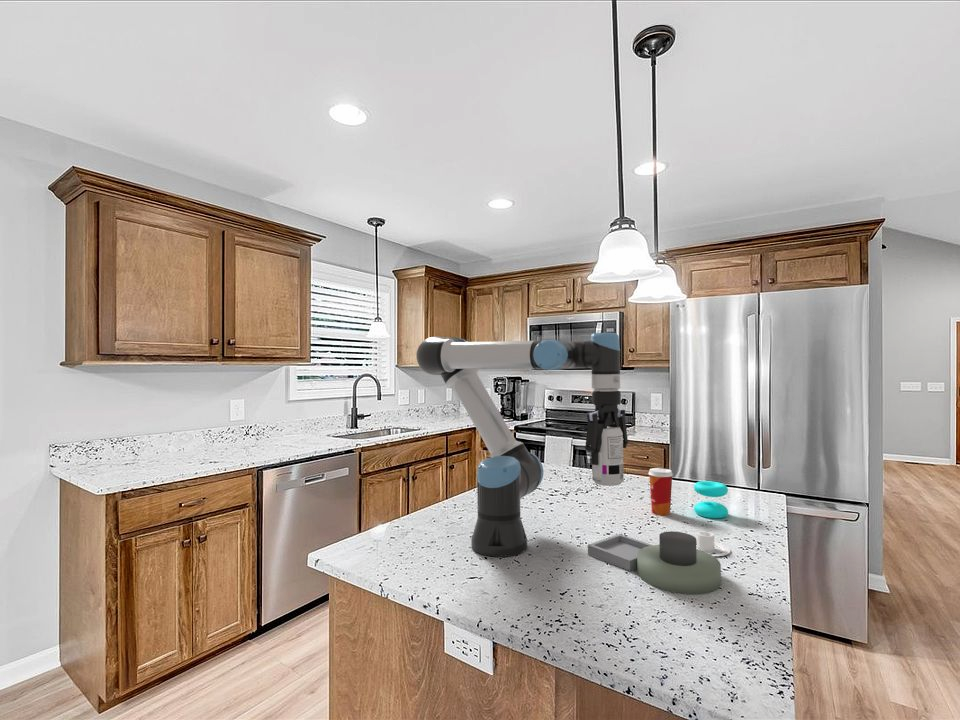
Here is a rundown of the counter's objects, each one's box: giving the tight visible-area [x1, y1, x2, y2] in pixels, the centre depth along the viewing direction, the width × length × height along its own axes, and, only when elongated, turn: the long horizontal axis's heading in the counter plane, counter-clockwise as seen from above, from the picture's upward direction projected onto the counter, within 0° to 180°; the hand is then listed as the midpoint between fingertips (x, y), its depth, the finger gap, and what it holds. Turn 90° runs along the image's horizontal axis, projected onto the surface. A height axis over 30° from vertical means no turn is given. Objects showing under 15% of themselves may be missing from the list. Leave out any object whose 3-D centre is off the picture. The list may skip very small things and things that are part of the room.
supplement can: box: [591, 426, 625, 487], centre depth 135 cm, size 8×8×15 cm
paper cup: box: [647, 467, 674, 516], centre depth 163 cm, size 8×8×14 cm
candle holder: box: [696, 530, 731, 557], centre depth 133 cm, size 12×12×4 cm
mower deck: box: [587, 530, 722, 595], centre depth 121 cm, size 18×30×9 cm, turn 37°
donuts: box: [693, 480, 729, 519], centre depth 161 cm, size 10×10×10 cm
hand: (607, 474), depth 135 cm, fingers closed on supplement can, 8 cm apart
